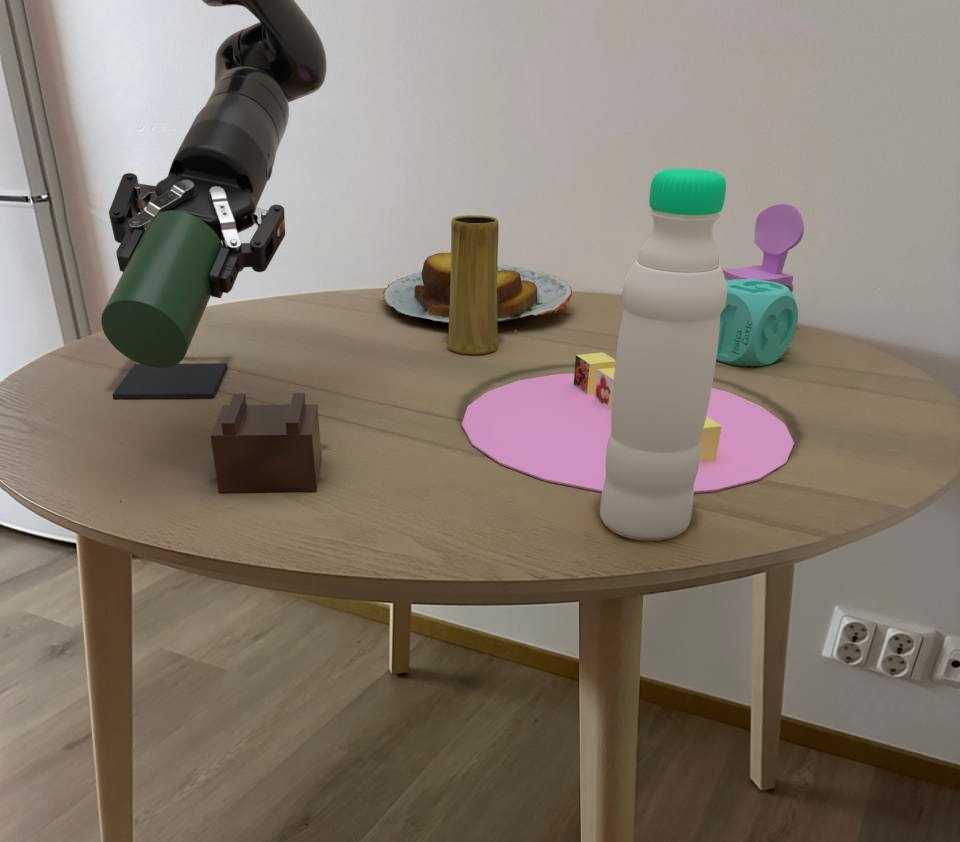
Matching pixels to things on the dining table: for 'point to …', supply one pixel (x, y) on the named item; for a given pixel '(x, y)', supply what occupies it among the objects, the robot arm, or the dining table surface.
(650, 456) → the water bottle
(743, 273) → the toy chair
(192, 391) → the coaster
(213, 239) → the green can
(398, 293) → the food on plate
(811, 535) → the dining table surface
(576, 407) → the platter
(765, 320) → the decorative dice
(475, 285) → the vase
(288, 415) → the cradle
